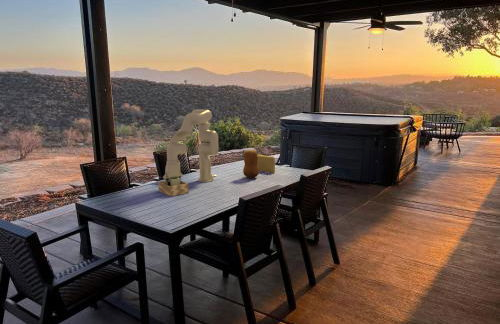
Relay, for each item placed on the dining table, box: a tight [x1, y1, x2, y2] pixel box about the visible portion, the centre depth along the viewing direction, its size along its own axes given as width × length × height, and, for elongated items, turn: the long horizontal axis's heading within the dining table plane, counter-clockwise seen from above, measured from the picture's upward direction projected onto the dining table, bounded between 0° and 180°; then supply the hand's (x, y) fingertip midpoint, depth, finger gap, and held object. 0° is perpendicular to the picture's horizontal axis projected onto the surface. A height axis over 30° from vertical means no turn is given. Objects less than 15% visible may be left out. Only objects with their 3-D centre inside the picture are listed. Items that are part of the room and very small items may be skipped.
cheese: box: [257, 153, 276, 174], centre depth 331 cm, size 22×10×15 cm, turn 46°
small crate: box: [166, 177, 180, 186], centre depth 260 cm, size 6×10×8 cm, turn 38°
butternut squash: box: [242, 149, 260, 180], centre depth 303 cm, size 14×13×25 cm
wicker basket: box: [157, 180, 190, 197], centre depth 261 cm, size 15×19×7 cm
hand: (173, 185), depth 261 cm, fingers closed on small crate, 5 cm apart
